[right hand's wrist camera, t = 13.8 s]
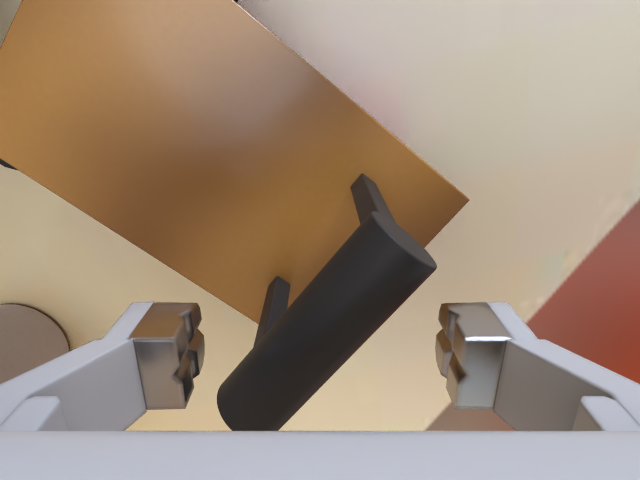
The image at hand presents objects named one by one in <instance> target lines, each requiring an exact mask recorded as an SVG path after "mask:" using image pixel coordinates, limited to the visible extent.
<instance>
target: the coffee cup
mask: <svg viewBox="0 0 640 480" xmlns="http://www.w3.org/2000/svg"><path fill="white" fill-rule="evenodd" d="M67 352H69V347H68V343H67V340H66V338H65V336H64V334H63V332H62V331H61V329H60V328H59V327H58V326H57V325H56V324H55V323H54V322H53V321H52V320H51V319H50V318H48V317H47V316H46V315H44V314H42V313H41V312H39V311H37V310H34V309H32V308H29V307H26V306H22V305H15V304H4V305H0V384H2V383H4V382H6V381H8V380H10V379H12V378H15V377H17V376H19V375H21V374H23V373H25V372H27V371H29V370H31V369H34V368H36V367H38V366H40V365H42V364H44V363H46V362H48V361H51V360H53V359H55V358H57V357H59V356H61V355H63V354H65V353H67Z"/></svg>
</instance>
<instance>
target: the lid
mask: <svg viewBox="0 0 640 480" xmlns="http://www.w3.org/2000/svg"><path fill="white" fill-rule="evenodd" d="M0 158H1V159H2V160H4V161H5V162H7V163H8V164H10V165H11V166H13V167H15V168H16V169H18V170H19V171H21V172H22V173H24V174H25V175H27V176H29V177H30V178H32V179H33V180H35V181H36V182H38V183H39V184H41V185H43V186H44V187H46V188H47V189H49V190H50V191H52V192H53V193H55V194H57V195H58V196H60V197H61V198H63V199H64V200H66V201H67V202H69V203H71V204H72V205H74V206H75V207H77V208H78V209H80V210H82V211H83V212H85V213H86V214H88V215H89V216H91V217H92V218H94V219H96V220H97V221H99V222H100V223H102V224H103V225H105V226H106V227H108V228H110V229H111V230H113V231H114V232H116V233H117V234H119V235H120V236H122V237H124V238H125V239H127V240H128V241H130V242H131V243H133V244H134V245H136V246H138V247H139V248H141V249H142V250H144V251H145V252H147V253H148V254H150V255H152V256H153V257H155V258H156V259H158V260H159V261H161V262H163V263H164V264H166V265H167V266H169V267H170V268H172V269H173V270H175V271H177V272H178V273H180V274H181V275H183V276H184V277H186V278H187V279H189V280H191V281H192V282H194V283H195V284H197V285H198V286H200V287H201V288H203V289H205V290H206V291H208V292H209V293H211V294H212V295H214V296H215V297H217V298H219V299H220V300H222V301H223V302H225V303H226V304H228V305H229V306H231V307H233V308H234V309H236V310H237V311H239V312H240V313H242V314H243V315H245V316H247V317H248V318H250V319H251V320H253V321H254V322H256V323H258V324H259V326H258V330H257V334H256V339H255V343H254V347H253V349H252V350H251V351H250V352H249V353H248V355H247V356H246V357H245V358H244V359H243V360H242V362H241V363H240V364H239V365H238V366H237V367H236V368H235V370H234V371H233V372H232V373H231V374H230V375H229V377H228V378H227V379H226V380H225V381H224V382H223V383H222V385H221V386H220V388H219V390H218V394H217V405H218V409H219V412H220V414H221V416H222V418H223V420H224V421H225V423H226V424H227V425H228V427H229V428H230V429H231V430H232V431H278V430H279V429H280V428H281V427H282V426H283V425H284V424H285V423H286V422H287V421H288V420H289V419H290V418H291V417H292V416H293V415H294V414H295V413H296V412H297V411H298V410H299V409H300V408H301V407H302V406H303V405H304V404H305V403H306V402H307V401H308V400H309V399H310V398H311V396H312V395H313V394H314V393H315V392H316V391H317V390H318V389H319V388H320V387H321V386H322V385H323V384H324V383H325V382H326V381H327V380H328V379H329V378H330V377H331V376H332V375H333V374H334V373H335V372H336V371H337V370H338V369H339V368H340V367H341V366H342V365H343V364H344V363H345V362H346V361H347V360H348V359H349V358H350V357H351V356H352V355H353V354H354V353H355V352H356V351H357V350H358V348H359V347H360V346H361V345H362V344H363V343H364V342H365V341H366V340H367V339H368V338H369V337H370V336H371V335H372V334H373V333H374V332H375V331H376V330H377V329H378V328H379V327H380V326H381V325H382V324H383V323H384V322H385V321H386V320H387V319H388V318H389V317H390V316H391V315H392V314H393V313H394V312H395V311H396V310H397V309H398V308H399V307H400V306H401V305H402V304H403V303H404V301H405V300H406V299H407V298H408V297H409V296H410V295H411V294H412V293H413V292H414V291H415V290H416V289H417V288H418V287H419V286H420V285H421V284H422V283H423V282H424V281H425V280H426V279H427V278H428V277H429V276H430V275H431V274H432V273H433V272H434V271H435V270H436V268H437V266H436V263H435V261H434V260H433V258H432V257H431V256H430V255H429V253H428V252H427V251H426V250H425V249H424V248H425V246H426V245H427V244H428V243H429V242H430V241H431V240H432V239H433V238H434V237H435V236H436V235H437V234H438V233H439V232H440V231H441V230H442V229H443V227H444V226H445V225H446V224H447V223H448V222H449V221H450V220H451V219H452V218H453V217H454V216H455V215H456V214H457V213H458V212H459V211H460V210H461V208H462V207H463V206H464V205H465V204H466V203H467V202H468V201H469V199H468V198H467V197H466V196H465V195H464V194H463V193H461V192H460V191H459V190H458V189H457V188H455V187H454V186H453V185H452V184H451V183H450V182H448V181H447V180H446V179H445V178H444V177H442V176H441V175H440V174H439V173H438V172H436V171H435V170H434V169H433V168H432V167H431V166H429V165H428V164H427V163H426V162H425V161H423V160H422V159H421V158H420V157H419V156H417V155H416V154H415V153H414V152H413V151H412V150H410V149H409V148H408V147H407V146H406V145H404V144H403V143H402V142H401V141H400V140H399V139H397V138H396V137H395V136H394V135H393V134H391V133H390V132H389V131H388V130H387V129H385V128H384V127H383V126H382V125H381V124H380V123H378V122H377V121H376V120H375V119H374V118H372V117H371V116H370V115H369V114H368V113H366V112H365V111H364V110H363V109H362V108H361V107H359V106H358V105H357V104H356V103H355V102H353V101H352V100H351V99H350V98H349V97H348V96H346V95H345V94H344V93H343V92H342V91H340V90H339V89H338V88H337V87H336V86H334V85H333V84H332V83H331V82H330V81H329V80H327V79H326V78H325V77H324V76H323V75H321V74H320V73H319V72H318V71H317V70H315V69H314V68H313V67H312V66H311V65H310V64H308V63H307V62H306V61H305V60H304V59H302V58H301V57H300V56H299V55H298V54H297V53H295V52H294V51H293V50H292V49H291V48H289V47H288V46H287V45H286V44H285V43H283V42H282V41H281V40H280V39H279V38H278V37H276V36H275V35H274V34H273V33H272V32H270V31H269V30H268V29H267V28H266V27H265V26H263V25H262V24H261V23H260V22H259V21H257V20H256V19H255V18H254V17H253V16H251V15H250V14H249V13H248V12H247V11H246V10H244V9H243V8H242V7H241V6H240V5H238V4H237V3H236V2H235V1H234V0H22V2H21V4H20V6H19V9H18V11H17V13H16V15H15V17H14V20H13V22H12V24H11V26H10V28H9V30H8V33H7V35H6V37H5V39H4V41H3V43H2V46H1V48H0Z"/></svg>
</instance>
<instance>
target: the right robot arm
mask: <svg viewBox="0 0 640 480" xmlns="http://www.w3.org/2000/svg"><path fill="white" fill-rule="evenodd" d="M201 320H202V318H201V312H200V307H199V305H198V304H197V303H168V302H156V303H155V302H135V303H132V304H131V305H130V306H129V307H128V308H127V309H126V311H125V312H124V313H123V314H122V315H121V317H120V318H119V319H118V320H117V321H116V323H115V324H114V325H113V326H112V328H111V329H110V330H109V331H108V332H107V334H106V335H105V336H104V337H103V338H102V340H93V341H91V342H89V343H87V344H84V345H82V346H80V347H78V348H76V349H74V350H72V351H70V352H67V353H65V354H63V355H61V356H59V357H57V358H55V359H53V360H51V361H48V362H46V363H44V364H42V365H40V366H38V367H36V368H34V369H31V370H29V371H27V372H25V373H23V374H21V375H19V376H17V377H15V378H12V379H10V380H8V381H6V382H4V383H2V384H0V480H640V384H638V383H636V382H634V381H632V380H630V379H627V378H625V377H623V376H621V375H619V374H617V373H615V372H613V371H611V370H608V369H606V368H604V367H602V366H600V365H598V364H596V363H594V362H591V361H589V360H587V359H585V358H583V357H581V356H579V355H577V354H575V353H573V352H570V351H568V350H566V349H564V348H562V347H560V346H558V345H556V344H554V343H551V342H549V341H547V340H538V338H537V337H536V336H535V335H534V333H533V332H532V331H531V330H530V329H529V327H528V326H527V325H526V324H525V323H524V321H523V320H522V319H521V318H520V317H519V315H518V314H517V313H516V312H515V311H514V309H513V308H512V307H511V306H510V305H509V304H508V303H506V302H487V303H486V302H480V303H444V304H442V305H441V308H440V311H439V322H440V324H441V326H442V328H443V329H442V330H441V331H440V332H439V333H438V334H437V335H436V346H435V349H436V360H437V365H438V368H439V371H440V374H441V375H443V376H444V377H445V378H447V384H446V388H447V391H448V393H449V396H450V398H451V401H452V403H453V405H454V408H455V409H483V410H494V412H495V413H496V414H497V415H498V416H499V417H500V418H502V419H503V420H504V421H505V422H506V423H507V424H509V425H510V426H511V427H512V428H513V429H514V430H516V431H125V430H126V429H127V428H128V427H129V426H130V425H132V424H133V423H134V422H135V421H136V420H138V419H139V418H140V417H141V416H142V415H143V414H145V413H146V412H147V411H146V410H156V409H185V408H186V406H187V403H188V401H189V398H190V396H191V393H192V391H193V389H194V384H193V378H195V377H196V376H197V375H199V374H200V371H201V368H202V366H203V360H204V349H205V344H204V335H203V334H202V333H201V332H200V331H199V330H198V329H197V328H198V326H199V324H200V322H201Z"/></svg>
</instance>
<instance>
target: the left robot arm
mask: <svg viewBox="0 0 640 480" xmlns="http://www.w3.org/2000/svg"><path fill="white" fill-rule="evenodd" d="M234 1H235V2H236V3H237V2H238V0H234ZM0 164H1V165H3V166H4V167H8V168H11V169H15V170H18V169H16V168H15V167H13V166H11V165H10V164H8V163H7V162H5V161H4V160H2V159H1V158H0Z"/></svg>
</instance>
